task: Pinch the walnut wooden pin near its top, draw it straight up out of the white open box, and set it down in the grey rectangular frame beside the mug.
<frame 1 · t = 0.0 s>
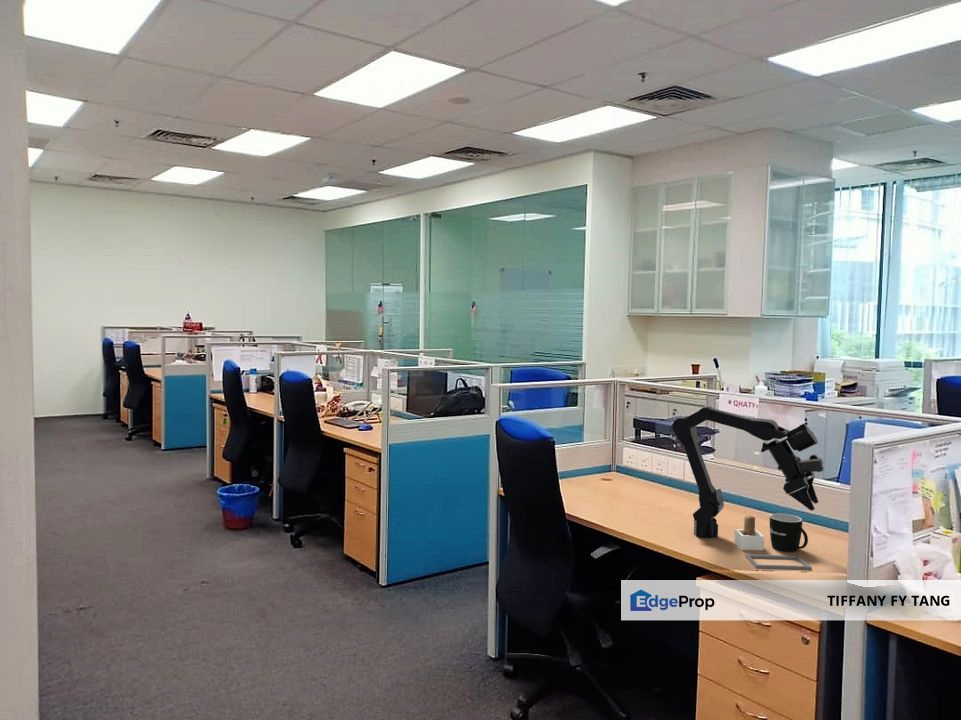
hand: (815, 506, 202), 15 cm above the table, tool tilted 35°, fingers open, 9 cm apart
grey rectangular frame: (777, 565, 195), on the table
pin: (748, 546, 209), point 1 cm above the table, touching white open box
mug: (789, 553, 207), on the table
white open box: (748, 549, 209), on the table
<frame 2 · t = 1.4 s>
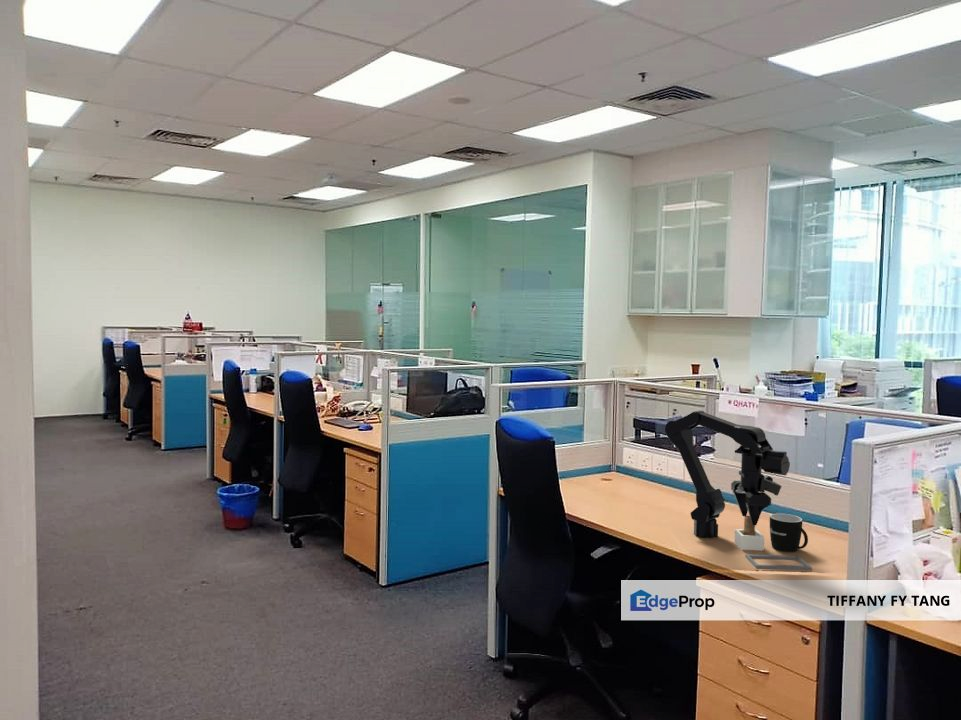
hand: (749, 520, 209), 9 cm above the table, tool pointing down, fingers open, 9 cm apart
nothing on the table moved.
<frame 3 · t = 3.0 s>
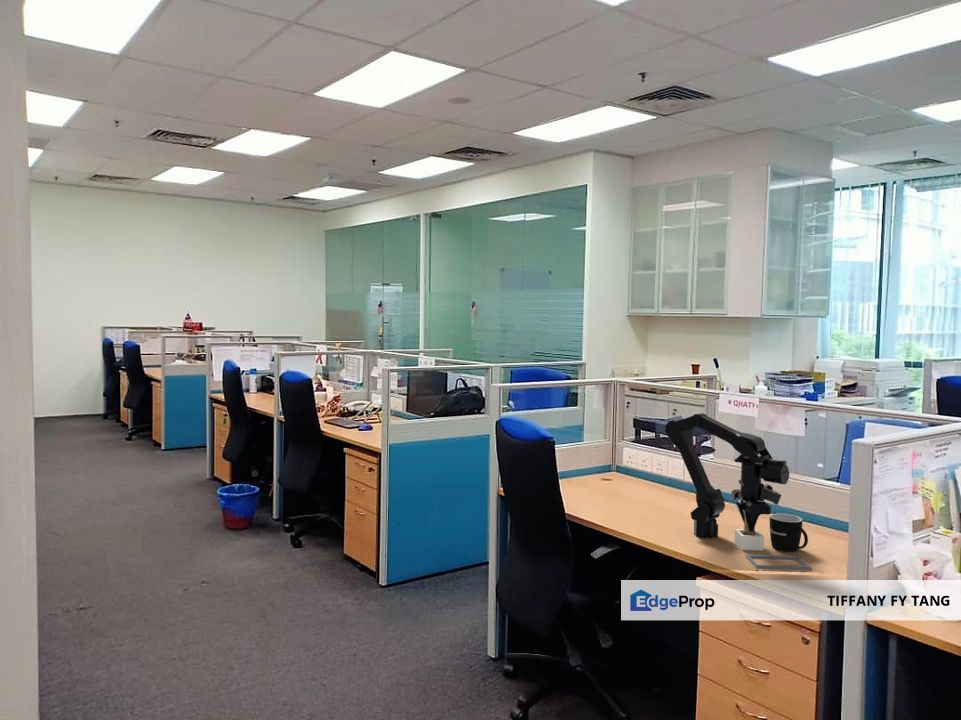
hand: (749, 529, 209), 6 cm above the table, tool pointing down, fingers closed on pin, 3 cm apart
pin: (748, 546, 209), point 1 cm above the table, touching white open box, gripper
everything else where it was.
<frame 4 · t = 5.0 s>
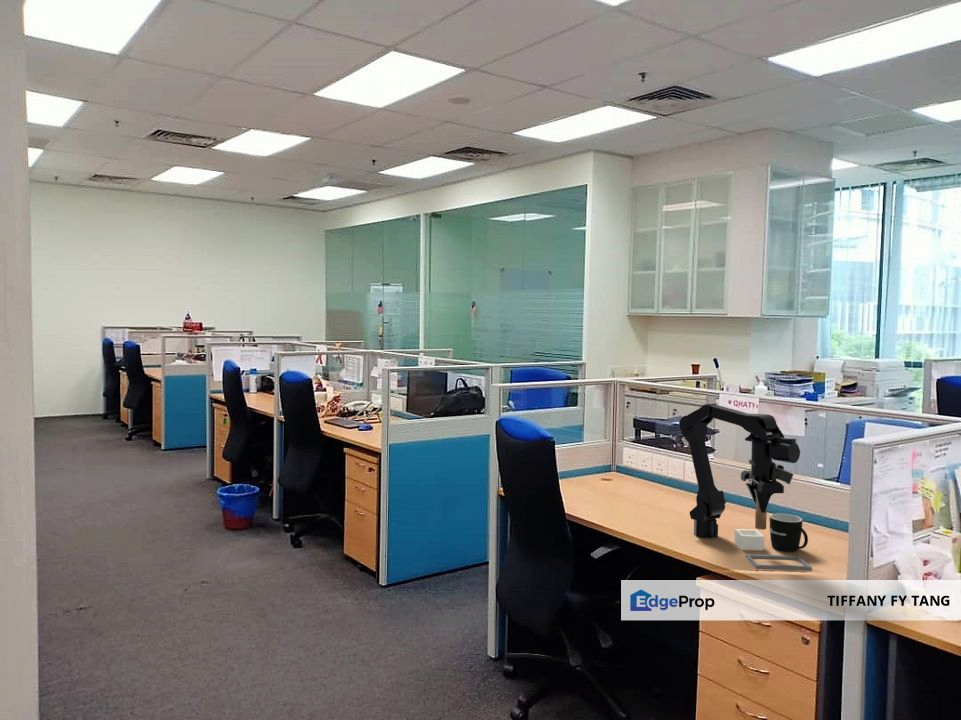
hand: (761, 510, 203), 13 cm above the table, tool pointing down, fingers closed on pin, 3 cm apart
pin: (760, 528, 203), point 8 cm above the table, touching gripper
everything else where it was.
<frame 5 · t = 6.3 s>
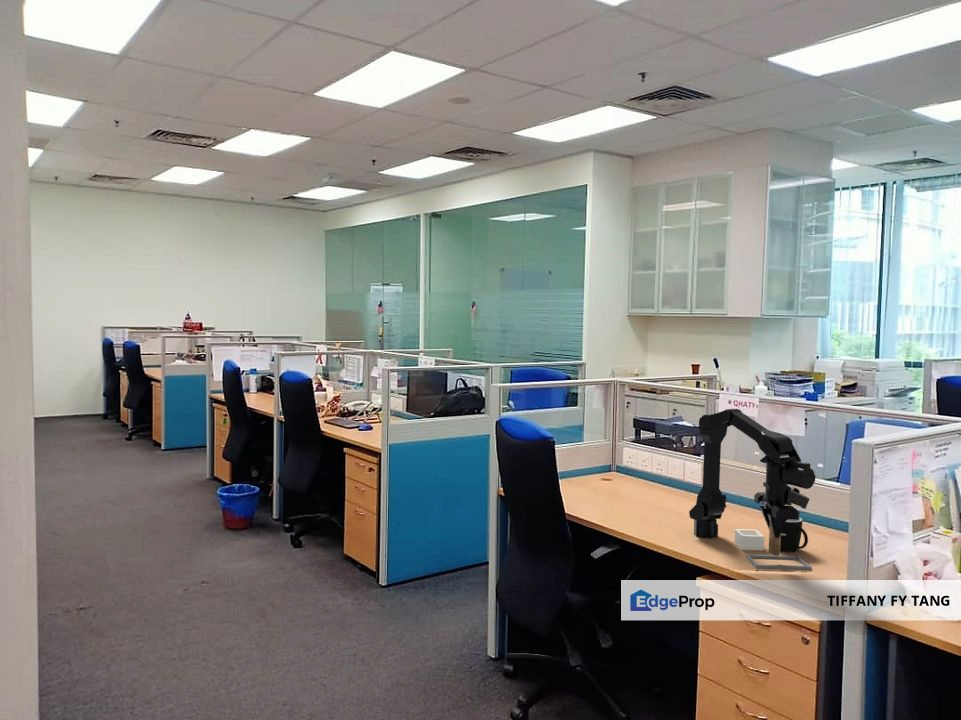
hand: (774, 535, 195), 9 cm above the table, tool pointing down, fingers closed on pin, 3 cm apart
pin: (774, 553, 195), point 3 cm above the table, touching gripper
everything else where it was.
when the fingers open (7 cm above the table, at t = 7.1 s): pin drops 2 cm, resting on grey rectangular frame.
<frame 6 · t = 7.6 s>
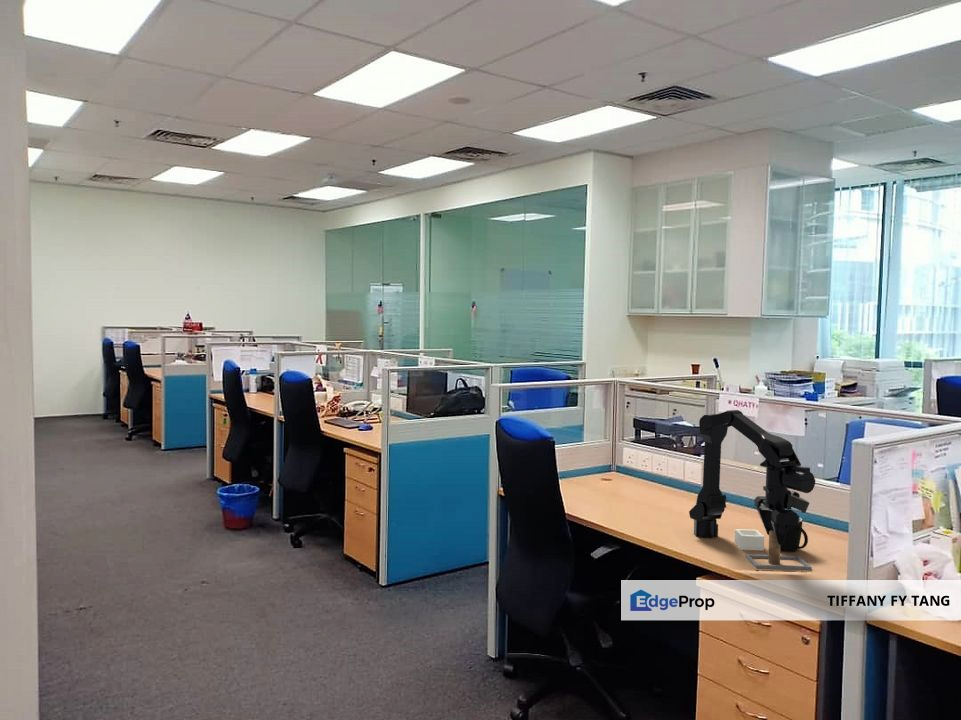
hand: (774, 539, 195), 7 cm above the table, tool pointing down, fingers open, 8 cm apart
pin: (774, 563, 195), point 1 cm above the table, touching grey rectangular frame
everything else where it was.
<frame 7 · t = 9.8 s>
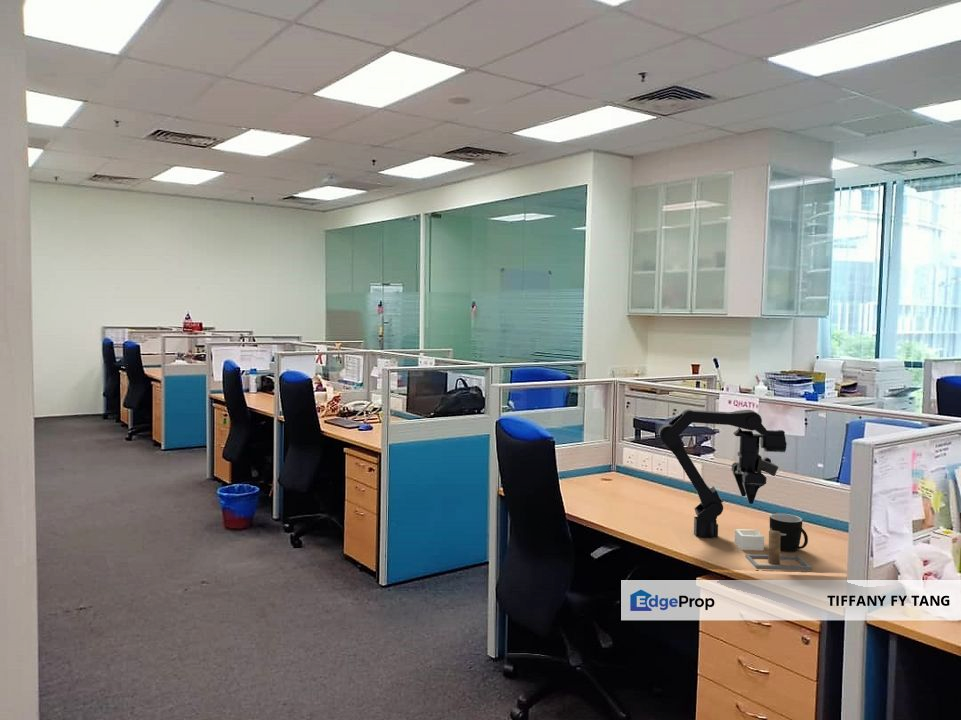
hand: (747, 499, 217), 13 cm above the table, tool pointing down, fingers open, 9 cm apart
nothing on the table moved.
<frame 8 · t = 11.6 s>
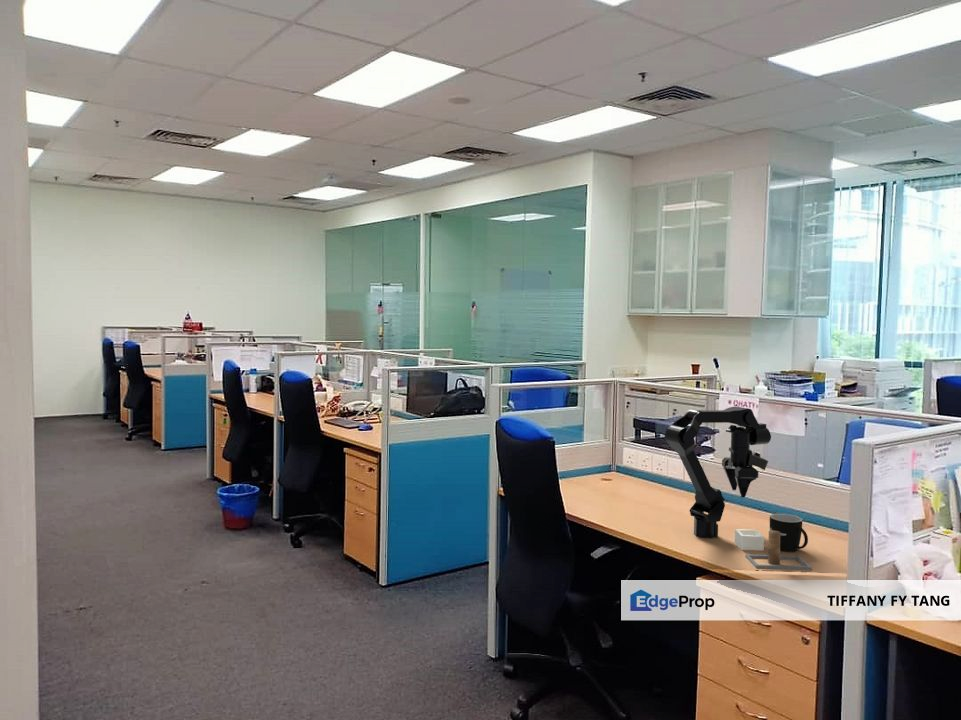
hand: (738, 493, 224), 13 cm above the table, tool pointing down, fingers open, 9 cm apart
nothing on the table moved.
at the end: pin inside the target area on the grey rectangular frame (1.0 cm from its centre), point 0.6 cm above the grey rectangular frame's base; the gripper is holding nothing; mug moved 0.2 cm from its start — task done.
